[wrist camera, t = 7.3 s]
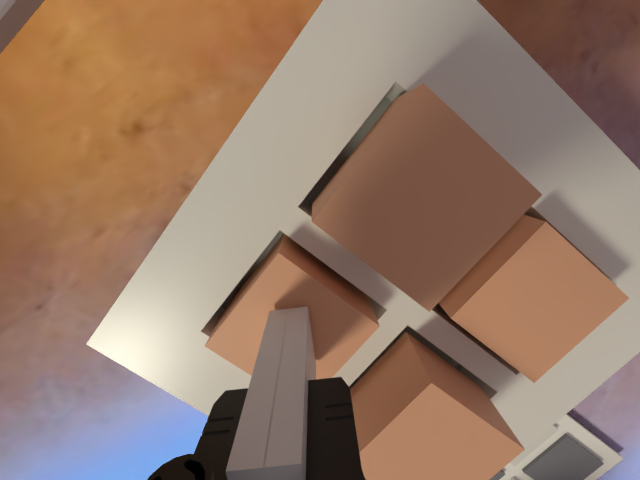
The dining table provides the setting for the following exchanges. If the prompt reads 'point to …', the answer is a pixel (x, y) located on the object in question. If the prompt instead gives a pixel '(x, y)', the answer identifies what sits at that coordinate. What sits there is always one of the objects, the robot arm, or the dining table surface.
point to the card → (562, 455)
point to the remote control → (14, 17)
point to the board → (327, 158)
